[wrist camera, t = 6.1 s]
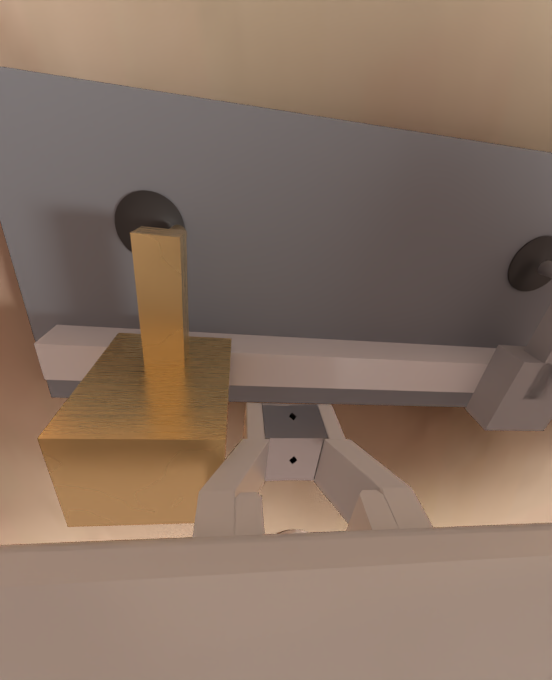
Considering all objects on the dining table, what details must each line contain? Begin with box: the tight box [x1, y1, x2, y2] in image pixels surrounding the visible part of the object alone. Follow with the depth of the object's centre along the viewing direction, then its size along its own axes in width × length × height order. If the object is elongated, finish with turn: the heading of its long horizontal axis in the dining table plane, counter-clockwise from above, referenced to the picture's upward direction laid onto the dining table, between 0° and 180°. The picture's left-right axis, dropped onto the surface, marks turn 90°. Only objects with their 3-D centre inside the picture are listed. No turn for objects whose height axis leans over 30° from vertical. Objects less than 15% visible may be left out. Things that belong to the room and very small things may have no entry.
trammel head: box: [37, 225, 232, 527], centre depth 9 cm, size 4×7×6 cm, turn 173°
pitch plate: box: [0, 67, 552, 431], centre depth 12 cm, size 24×12×4 cm, turn 83°
